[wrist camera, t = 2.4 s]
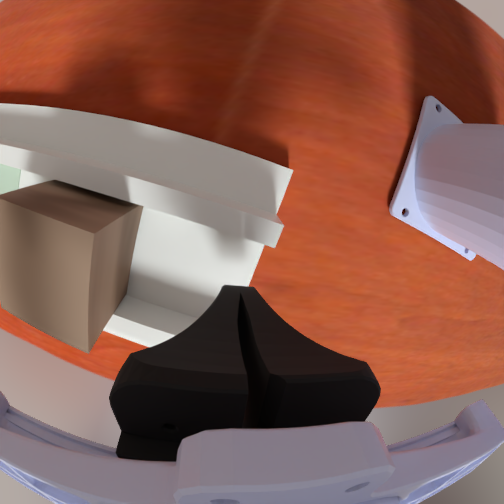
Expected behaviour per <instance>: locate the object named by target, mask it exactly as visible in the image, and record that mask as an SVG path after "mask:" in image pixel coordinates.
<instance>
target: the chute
mask: <svg viewBox="0 0 504 504" xmlns="http://www.w3.org/2000/svg"><path fill="white" fill-rule="evenodd" d="M292 173H293V170H291V169H288V168H286V167H283V166H281V165H278V164H275V163H273V162H270V161H267V160H264V159H262V158H259V157H256V156H253V155H250V154H247V153H245V152H242V151H239V150H236V149H233V148H230V147H226V146H223V145H220V144H217V143H214V142H211V141H207V140H204V139H201V138H197V137H194V136H190V135H187V134H183V133H179V132H176V131H172V130H168V129H164V128H160V127H156V126H152V125H148V124H144V123H139V122H135V121H130V120H125V119H121V118H116V117H111V116H105V115H100V114H94V113H88V112H82V111H76V110H69V109H61V108H53V107H44V106H34V105H21V104H3V103H0V195H1V194H4V193H7V192H10V191H14V190H17V189H20V188H24V187H28V186H31V185H35V184H39V183H43V182H47V181H51V180H58V181H62V182H65V183H69V184H72V185H75V186H79V187H82V188H85V189H89V190H92V191H95V192H98V193H102V194H105V195H108V196H112V197H115V198H118V199H121V200H125V201H128V202H131V203H134V204H138V205H141V206H144V207H143V211H142V215H141V219H140V224H139V228H138V233H137V238H136V242H135V247H134V253H133V258H132V264H131V269H130V275H129V282H128V288H127V294H126V295H125V297H124V298H123V300H122V301H121V303H120V304H119V306H118V307H117V309H116V310H115V312H114V313H113V315H112V317H111V318H110V320H109V321H108V323H107V324H106V326H105V328H104V329H103V330H104V331H106V332H109V333H111V334H114V335H117V336H119V337H122V338H125V339H128V340H130V341H133V342H136V343H139V344H142V345H145V346H148V347H152V346H155V345H157V344H160V343H162V342H164V341H166V340H168V339H170V338H172V337H174V336H176V335H177V334H179V333H180V332H182V331H183V330H185V329H186V328H188V327H189V326H190V325H191V324H193V323H194V322H195V321H196V320H197V319H198V318H199V317H200V316H201V315H202V314H203V313H204V312H205V311H206V310H207V309H208V308H209V306H210V305H211V304H212V303H213V301H214V300H215V299H216V297H217V296H218V294H219V292H220V290H221V288H222V286H224V285H235V286H249V283H250V281H251V278H252V276H253V273H254V271H255V268H256V265H257V263H258V260H259V258H260V255H261V253H262V250H263V248H264V245H267V246H270V247H273V248H275V246H276V244H277V241H278V239H279V237H280V234H281V232H282V229H283V226H284V225H283V223H282V222H281V220H280V219H279V217H278V216H277V215H276V214H277V212H278V209H279V206H280V204H281V201H282V199H283V196H284V193H285V191H286V188H287V186H288V183H289V180H290V178H291V175H292Z"/></svg>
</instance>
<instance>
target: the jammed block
mask: <svg viewBox="0 0 504 504" xmlns="http://www.w3.org/2000/svg"><path fill="white" fill-rule="evenodd" d="M143 207H144V206H141V205H138V204H134V203H131V202H128V201H125V200H121V199H118V198H115V197H112V196H108V195H105V194H102V193H98V192H95V191H92V190H89V189H85V188H82V187H79V186H75V185H72V184H69V183H65V182H62V181H58V180H51V181H47V182H43V183H39V184H35V185H31V186H28V187H24V188H20V189H17V190H14V191H10V192H7V193H4V194H1V195H0V302H1V307H2V308H3V309H5V310H6V311H8V312H9V313H11V314H13V315H14V316H16V317H18V318H19V319H21V320H23V321H24V322H26V323H28V324H30V325H31V326H33V327H35V328H37V329H39V330H40V331H42V332H44V333H46V334H48V335H50V336H52V337H54V338H56V339H58V340H60V341H62V342H64V343H66V344H68V345H70V346H73V347H75V348H77V349H79V350H81V351H84V352H86V353H88V354H89V352H90V351H91V349H92V347H93V345H94V344H95V342H96V341H97V339H98V337H99V336H100V334H101V332H102V331H103V329H104V328H105V326H106V324H107V323H108V321H109V320H110V318H111V317H112V315H113V313H114V312H115V310H116V309H117V307H118V306H119V304H120V303H121V301H122V300H123V298H124V297H125V295H126V294H127V288H128V282H129V275H130V269H131V264H132V258H133V253H134V247H135V242H136V238H137V233H138V228H139V224H140V219H141V215H142V211H143Z"/></svg>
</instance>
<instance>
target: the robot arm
mask: <svg viewBox="0 0 504 504" xmlns="http://www.w3.org/2000/svg"><path fill="white" fill-rule="evenodd" d="M436 106H437V108H438V111H437V110H436ZM404 208H405V213H404V215H402V210H403V209H404ZM389 211H390V214H391V215H392V216H394V217H396V218H398V219H400V220H402V221H403V222H405V223H407V224H409V225H411V226H413V227H415V228H416V229H418V230H420V231H422V232H424V233H425V234H427V235H429V236H431V237H432V238H434V239H436V240H437V241H439V242H441V243H443V244H444V245H446V246H448V247H449V248H451V249H453V250H454V251H456V252H457V253H459V254H461V255H462V256H464V257H465V258H467V259H468V260H473V259H474V258H475V256H476V254H478V255H480V256H481V257H483V258H485V259H486V260H488V261H490V262H492V263H493V264H495V265H497V266H498V267H500V268H501V269H503V270H504V125H499V124H464V123H463V122H462V121H461V120H460V119H458V118H457V117H456V116H455V115H454V114H453V113H452V112H451V111H450V110H449V109H448V108H446V107H445V106H444V105H443V104H442V103H441V102H439V101H438V100H437V99H436V98H435V97H433V96H427V97H425V99H424V102H423V106H422V110H421V113H420V117H419V121H418V124H417V128H416V131H415V135H414V138H413V141H412V144H411V147H410V151H409V154H408V157H407V160H406V163H405V166H404V168H403V171H402V174H401V177H400V180H399V182H398V185H397V188H396V190H395V193H394V196H393V198H392V201H391V203H390V206H389ZM380 391H381V388H380V385H379V383H378V381H377V379H376V377H375V376H374V374H373V372H372V370H371V369H370V367H369V365H368V364H367V362H364V361H360V360H357V359H354V358H351V357H348V356H344V355H342V354H339V353H337V352H334V351H332V350H330V349H328V348H325V347H323V346H321V345H319V344H318V343H316V342H314V341H312V340H311V339H309V338H307V337H306V336H304V335H302V334H301V333H299V332H298V331H297V330H295V329H294V328H293V327H291V326H290V325H289V324H288V323H286V322H285V321H284V320H283V319H282V318H281V317H280V316H279V315H278V314H277V313H276V312H275V311H274V310H273V309H272V308H271V307H270V306H269V305H268V304H267V303H266V301H265V300H264V299H263V298H262V297H261V295H260V294H259V293H258V292H257V290H256V289H255V288H254V287H248V286H235V285H224V286H222V288H221V290H220V292H219V294H218V296H217V297H216V299H215V300H214V301H213V303H212V304H211V305H210V306H209V308H208V309H207V310H206V311H205V312H204V313H203V314H202V315H201V316H200V317H199V318H198V319H197V320H196V321H195V322H194V323H193V324H191V325H190V326H189V327H188V328H186V329H185V330H183V331H182V332H180V333H179V334H177V335H176V336H174V337H172V338H170V339H168V340H166V341H164V342H162V343H160V344H157V345H155V346H152V347H150V348H146V349H143V350H140V351H137V352H134V353H131V354H130V355H129V357H128V358H127V360H126V361H125V363H124V364H123V366H122V368H121V369H120V371H119V373H118V375H117V377H116V380H115V382H114V385H113V387H112V390H111V393H110V396H109V400H110V405H111V408H112V410H113V413H114V415H115V417H116V420H117V422H118V424H119V426H120V429H121V435H120V438H119V442H118V445H117V448H113V447H109V446H106V445H103V444H99V443H96V442H92V441H90V440H87V439H83V438H81V437H78V436H75V435H73V434H70V433H67V432H65V431H62V430H60V429H57V428H55V427H53V426H50V425H48V424H46V423H43V422H41V421H39V420H37V419H35V418H33V417H31V416H29V415H27V414H25V413H23V412H21V411H19V410H17V409H15V408H14V407H12V406H10V405H9V403H8V401H7V399H6V398H5V396H4V395H3V394H2V392H1V391H0V470H2V471H3V472H5V473H6V474H7V475H9V476H10V477H12V478H13V479H15V480H16V481H18V482H19V483H21V484H22V485H24V486H25V487H27V488H29V489H30V490H32V491H34V492H35V493H37V494H39V495H41V496H42V497H44V498H46V499H48V500H50V501H51V502H53V503H55V504H417V503H419V502H421V501H423V500H425V499H427V498H429V497H431V496H432V495H434V494H436V493H438V492H439V491H441V490H443V489H445V488H446V487H448V486H449V485H451V484H453V483H454V482H456V481H457V480H459V479H461V478H462V477H464V476H465V475H467V474H468V473H470V472H471V471H472V470H474V469H475V468H476V467H477V466H478V465H480V464H481V463H482V462H483V461H484V460H485V459H486V458H487V457H489V456H490V455H491V454H492V453H493V452H494V451H495V450H496V449H497V448H498V447H499V446H500V445H501V444H502V443H503V442H504V428H503V427H502V425H501V424H500V422H499V421H498V419H497V418H496V417H495V415H494V414H493V413H492V411H491V410H490V408H489V407H488V406H487V404H486V403H485V402H484V401H483V399H481V400H479V401H477V402H475V403H473V404H471V405H469V406H467V407H466V408H464V409H463V410H462V411H461V412H460V413H459V415H458V416H457V417H456V419H455V421H453V422H451V423H448V424H446V425H444V426H441V427H439V428H437V429H434V430H432V431H429V432H427V433H424V434H421V435H419V436H416V437H413V438H410V439H407V440H404V441H401V442H398V443H395V444H391V445H388V446H386V444H385V442H384V440H383V437H382V435H381V433H380V431H379V429H378V428H377V427H376V426H375V425H374V424H373V423H371V422H364V421H365V420H366V418H367V417H368V416H369V414H370V412H371V411H372V409H373V408H374V406H375V405H376V403H377V401H378V399H379V397H380Z"/></svg>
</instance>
